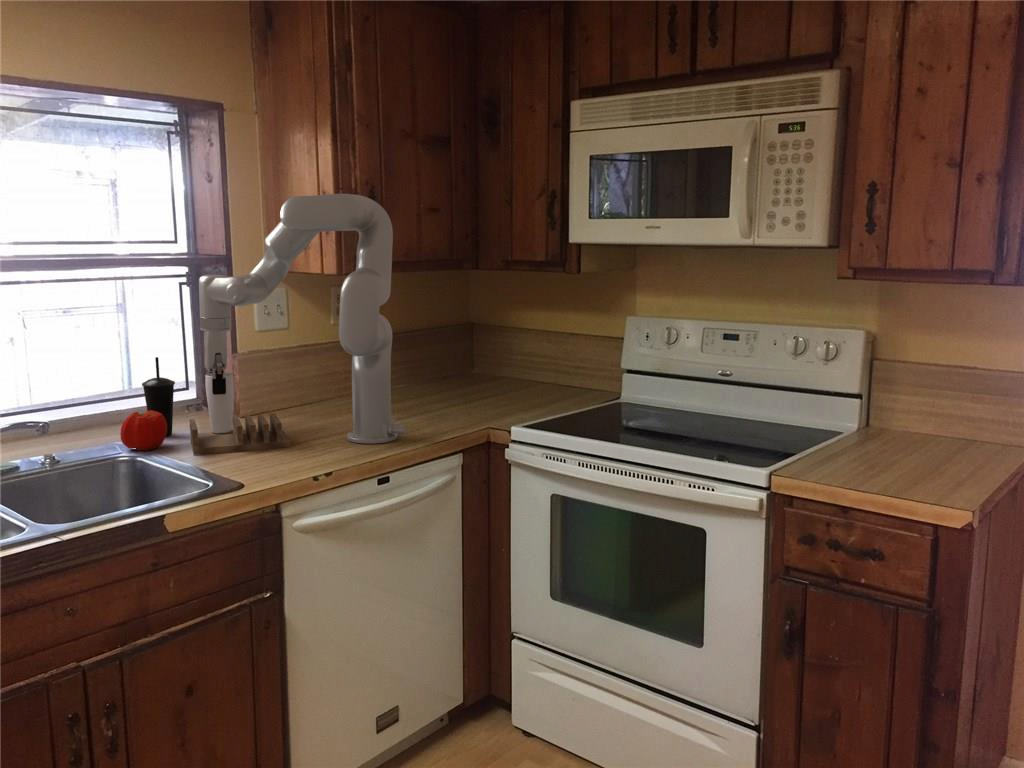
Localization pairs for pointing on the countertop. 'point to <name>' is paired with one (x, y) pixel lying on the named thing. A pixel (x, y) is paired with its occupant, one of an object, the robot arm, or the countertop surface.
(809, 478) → the countertop surface
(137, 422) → the tomato
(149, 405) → the drinking cup
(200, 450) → the rack
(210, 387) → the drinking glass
